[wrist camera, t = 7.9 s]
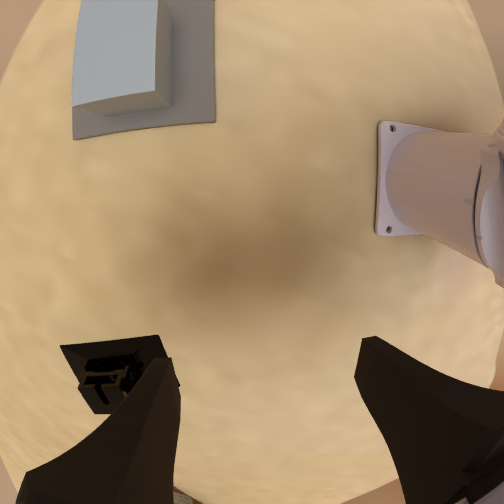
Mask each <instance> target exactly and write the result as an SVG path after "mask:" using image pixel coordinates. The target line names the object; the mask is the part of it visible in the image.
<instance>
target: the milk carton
mask: <svg viewBox="0 0 504 504" xmlns="http://www.w3.org/2000/svg"><path fill="white" fill-rule="evenodd" d="M173 497H174V504H203V503H201V502H199V501H197V500H196V499H194V498H192V497H190V496H189V495H187V494H185V493H183V492H182V491H180V490H178V489H177V488H175V487H174V486H173Z"/></svg>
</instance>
